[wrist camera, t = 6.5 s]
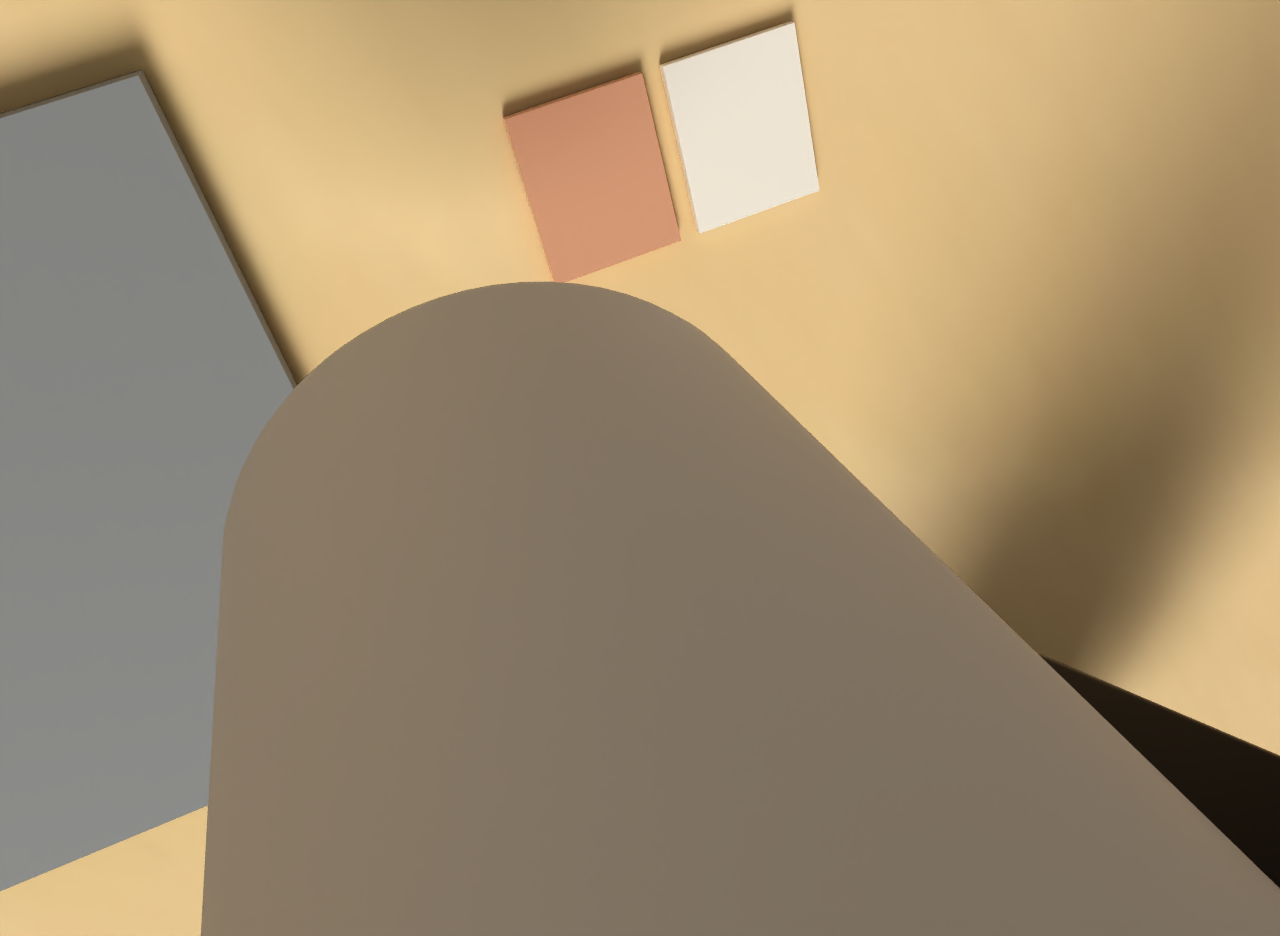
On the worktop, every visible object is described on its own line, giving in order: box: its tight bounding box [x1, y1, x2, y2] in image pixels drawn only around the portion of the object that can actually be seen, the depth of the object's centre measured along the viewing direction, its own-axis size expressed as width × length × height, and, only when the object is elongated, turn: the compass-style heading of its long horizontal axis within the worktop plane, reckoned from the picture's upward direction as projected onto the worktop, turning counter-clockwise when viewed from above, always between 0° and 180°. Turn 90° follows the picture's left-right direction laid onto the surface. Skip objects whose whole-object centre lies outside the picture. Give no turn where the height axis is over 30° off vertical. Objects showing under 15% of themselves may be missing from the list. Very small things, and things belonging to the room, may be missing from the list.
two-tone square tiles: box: [503, 21, 819, 283], centre depth 19 cm, size 3×6×1 cm, turn 104°
